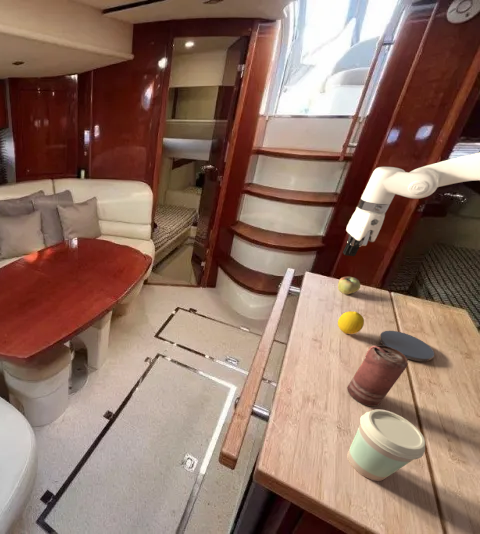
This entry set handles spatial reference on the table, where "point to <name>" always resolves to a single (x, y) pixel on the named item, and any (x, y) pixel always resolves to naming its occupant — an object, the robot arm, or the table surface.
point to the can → (377, 375)
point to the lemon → (350, 322)
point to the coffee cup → (384, 444)
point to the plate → (407, 345)
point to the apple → (348, 285)
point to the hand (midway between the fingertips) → (348, 254)
